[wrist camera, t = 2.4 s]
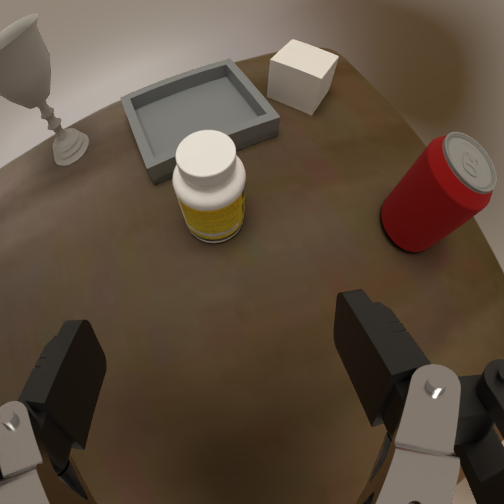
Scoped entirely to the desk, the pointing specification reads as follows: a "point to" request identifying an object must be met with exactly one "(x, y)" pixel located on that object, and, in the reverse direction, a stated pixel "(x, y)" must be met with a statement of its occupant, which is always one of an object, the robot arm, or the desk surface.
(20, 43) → the chalice
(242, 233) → the desk surface
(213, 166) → the supplement bottle
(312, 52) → the white cube
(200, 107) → the tray
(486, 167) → the beverage can
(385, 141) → the desk surface
